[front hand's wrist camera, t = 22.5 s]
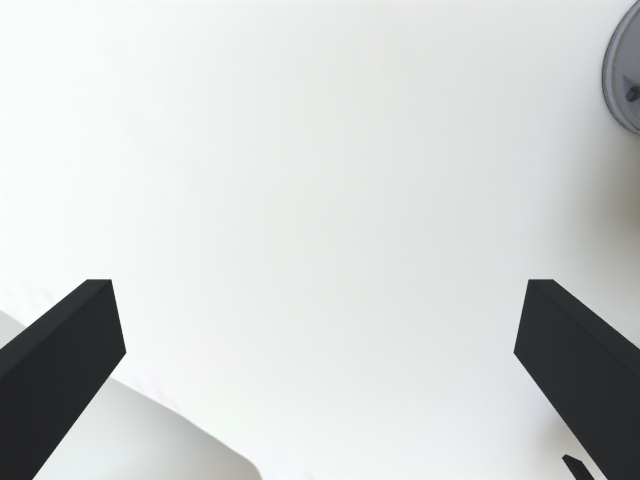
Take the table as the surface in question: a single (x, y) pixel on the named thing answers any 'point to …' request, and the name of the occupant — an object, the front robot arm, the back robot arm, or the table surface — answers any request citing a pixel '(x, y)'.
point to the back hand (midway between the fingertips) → (606, 425)
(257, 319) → the table surface
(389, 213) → the table surface
